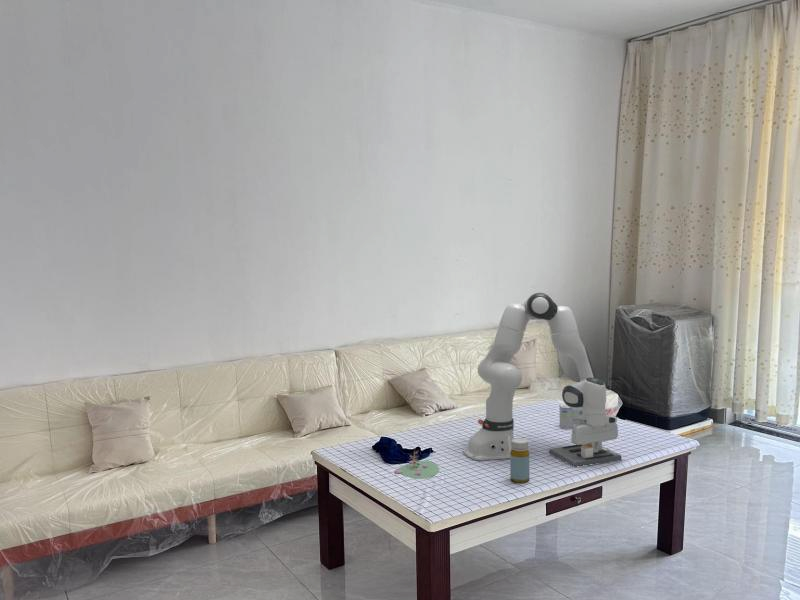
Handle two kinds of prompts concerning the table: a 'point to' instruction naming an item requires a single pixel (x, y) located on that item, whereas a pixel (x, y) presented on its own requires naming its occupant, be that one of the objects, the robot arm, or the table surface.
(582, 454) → the switch
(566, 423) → the light bulb box
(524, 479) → the bottle
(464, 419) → the table surface
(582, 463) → the switch panel
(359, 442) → the table surface
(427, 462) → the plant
